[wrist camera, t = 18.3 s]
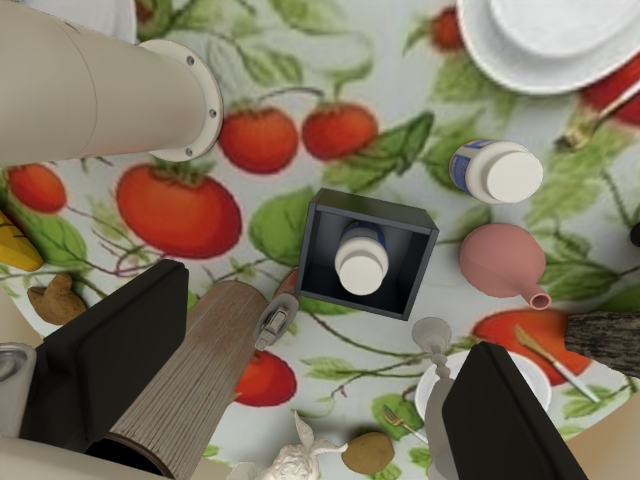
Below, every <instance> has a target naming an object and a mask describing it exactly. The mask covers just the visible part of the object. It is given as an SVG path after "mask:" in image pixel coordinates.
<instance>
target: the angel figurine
mask: <svg viewBox="0 0 640 480" xmlns="http://www.w3.org/2000/svg"><path fill="white" fill-rule="evenodd" d="M295 423H296V427H297V431H298V434H299V437H300V440H301V442H302V445H296V446H292V445H291V444H287V445H285V446H284V447H282V449H281V451H280V453H279V454H278V457H277V458H276V459H275V460H274V462H273V465H272V466H271V467H270V468H268V469H265V470H263V471H262V472H260V473H259V474H258V475H257V472H256V468H255V464H254V463H255V461H254V463H251V462H241V461H240V462H239V463H237V464H236V465H235V467H234V468H233V470H232V471H231V473H230V474H229V475H228V477H227V478H226V479H225V480H317V478H318V476H319V464H318V460H317V458H316V457H315V456H316V455H318V454H319V453H323V452H325V453H326V452H331V451H335V452H344V451H346V449H347V448H348V446H347V443H346V444H345V445H343V446H341V447H338V446H335V445H334V443H332V441H330V440H327V439H321V440H318V441H316V442H315V441H314V435H313V431H312V430H311V428H310V426H309V425H308V424H306V423H304V422H303V421H302V420H301V419H300V418H299V416H298V414H297V411H296V410H295ZM303 445H304V446H303Z"/></svg>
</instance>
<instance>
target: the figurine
mask: <svg viewBox="0 0 640 480" xmlns="http://www.w3.org/2000/svg"><path fill="white" fill-rule="evenodd" d="M631 241H632V243H633V244H634V245H636V246H638V247H640V223H639V224H637V225H636V226H635V227H634V229H633V230H632V232H631Z"/></svg>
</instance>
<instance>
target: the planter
mask: <svg viewBox="0 0 640 480" xmlns="http://www.w3.org/2000/svg"><path fill="white" fill-rule="evenodd" d="M267 306H268V305H267V303H266V301H265V299H264V298H263V297H262V295H261V294H260V293H259V292H258V291H257V290H255V289H254V288H252V287H251V286H249V285H247V284H245V283H242V282H238V281H224V282H221V283H218V284H216V285H215V286H213V287H212V288H211V289H210V290H209V291H207V292H206V293H205V294H204V295H203V296H202V297H201V298H200V299H199V300H198V301H197V302H196V303H195V304H194V306H193V307H192V308H191V309H190V310H189V311H188V312H187V321H186V335H185V339H184V341H183V343H182V344H181V346H180V347H179V348H178V349H177V351H176V352H175V353H174V354H173V355H172V357H171V358H170V359H169V360H168V361H167V363H166V364H165V365H164V366H163V367H162V369H161V370H160V371H159V372H158V373H157V375H156V376H155V377H154V378H153V379H152V381H151V382H150V383H149V384H148V385H147V387H146V388H145V389H144V390H143V391H142V393H141V394H140V395H139V396H138V397H137V399H136V400H135V401H134V402H133V403H132V405H131V406H130V407H129V408H128V409H127V411H126V412H125V413H124V414H123V415H122V417H121V418H120V419H119V420H118V421H117V423H116V424H115V425H114V426H113V427H112V429H111V430H110V431H109V432H108V433H107V435H106V436H105V437H104V438H103V439H102V440H100V441H98V442H96V441H94V442H93V443H92V445H91V446H90V447H89V448H88V449H87V450H86V452H85V453H84V454H85V455H88V456H92V457H96V458H100V459H103V460H107V461H111V462H114V463H118V464H121V465H125V466H128V467H132V468H135V469H138V470H142V471H145V472H149V473H152V474H156V475H159V476H162V477H166V478H169V479H173V480H190V479H191V477H192V475H193V473H194V471H195V469H196V467H197V465H198V463H199V461H200V459H201V457H202V455H203V453H204V451H205V449H206V447H207V445H208V443H209V441H210V439H211V437H212V435H213V433H214V431H215V429H216V427H217V426H218V424H219V422H220V420H221V418H222V416H223V414H224V412H225V410H226V408H227V406H228V404H229V402H230V400H231V398H232V396H233V394H234V392H235V390H236V388H237V386H238V384H239V382H240V380H241V378H242V376H243V374H244V372H245V370H246V368H247V366H248V364H249V362H250V360H251V358H252V357H253V355H254V353H255V351H256V349H257V348H256V347H255V344H256V342H257V341H256V340H255V338H254V332H255V329H256V326H257V323H258V321H259V319H260V317H261V316H262V314H263V312H264V310H265V309H266V307H267ZM66 450H67V449H66Z"/></svg>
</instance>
